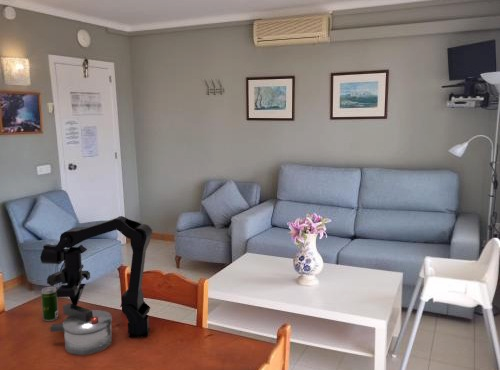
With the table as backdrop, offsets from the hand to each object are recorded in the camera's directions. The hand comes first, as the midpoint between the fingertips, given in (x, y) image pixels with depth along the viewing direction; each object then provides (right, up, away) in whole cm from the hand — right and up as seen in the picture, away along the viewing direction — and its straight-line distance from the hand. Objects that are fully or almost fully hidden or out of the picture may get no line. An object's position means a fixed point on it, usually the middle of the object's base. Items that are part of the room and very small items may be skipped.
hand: (75, 306), depth 158 cm
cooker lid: (+6, -3, -8) cm, 10 cm away
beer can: (-14, -8, +11) cm, 19 cm away
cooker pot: (+5, -11, -8) cm, 14 cm away
